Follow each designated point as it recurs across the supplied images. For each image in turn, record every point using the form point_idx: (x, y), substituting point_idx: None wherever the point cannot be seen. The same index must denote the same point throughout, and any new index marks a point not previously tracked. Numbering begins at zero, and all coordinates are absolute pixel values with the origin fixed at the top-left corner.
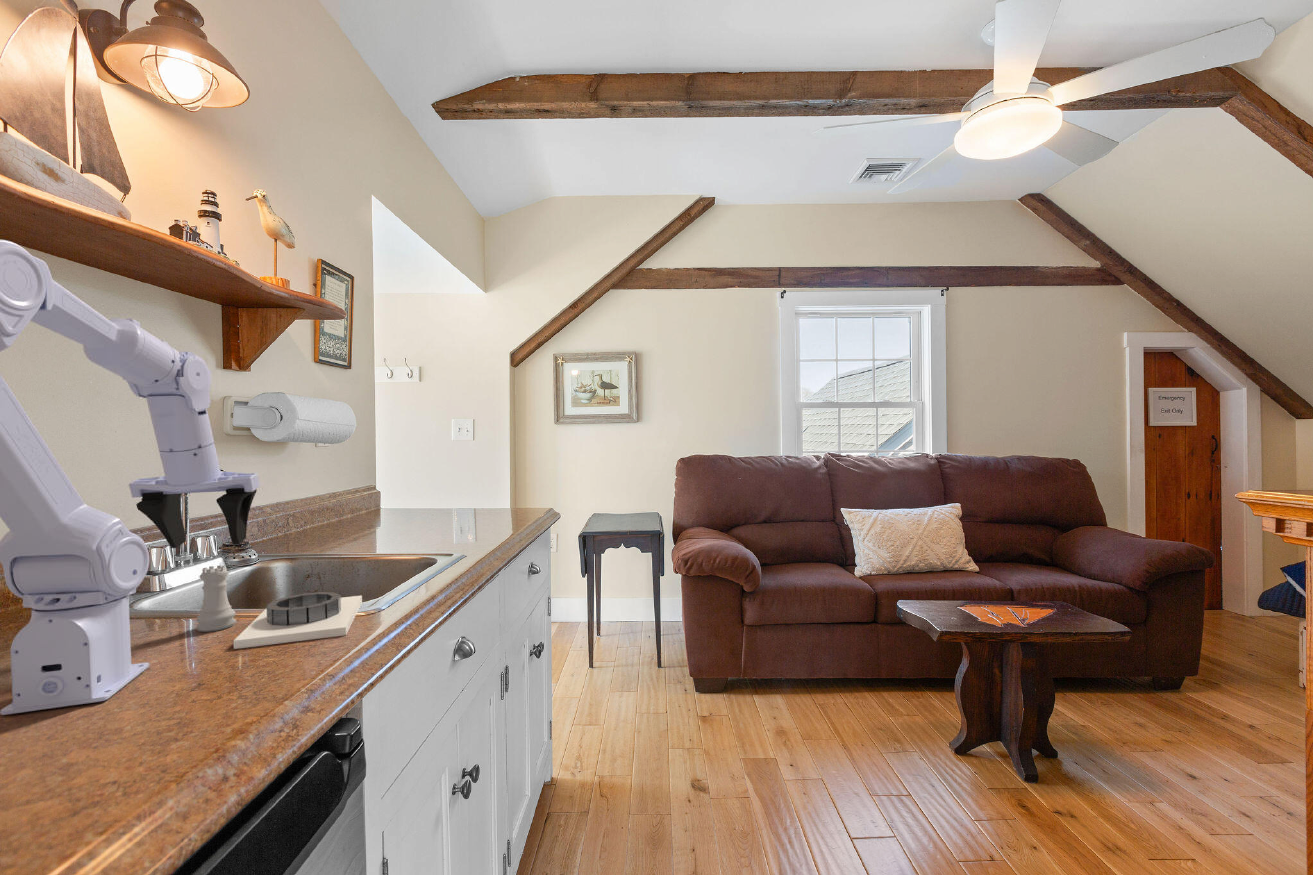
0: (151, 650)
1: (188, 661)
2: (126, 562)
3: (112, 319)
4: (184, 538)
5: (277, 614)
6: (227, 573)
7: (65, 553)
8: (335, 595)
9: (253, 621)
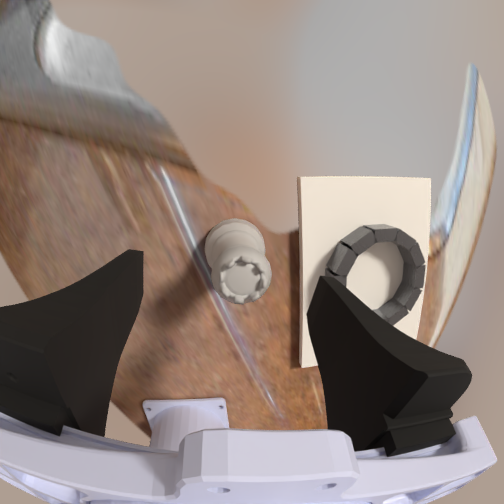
0: (187, 336)
1: (259, 387)
2: None
3: None
4: (140, 260)
5: None
6: (270, 278)
7: None
8: (420, 264)
9: (303, 283)
